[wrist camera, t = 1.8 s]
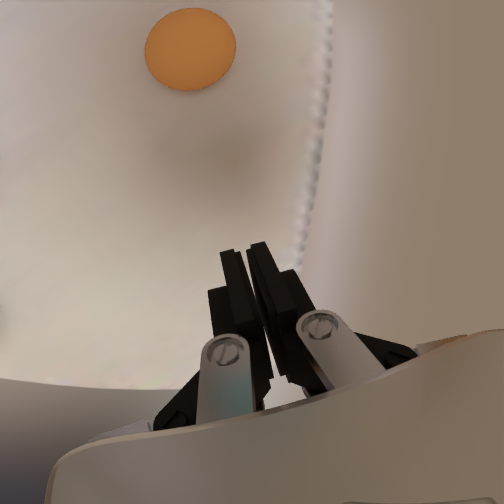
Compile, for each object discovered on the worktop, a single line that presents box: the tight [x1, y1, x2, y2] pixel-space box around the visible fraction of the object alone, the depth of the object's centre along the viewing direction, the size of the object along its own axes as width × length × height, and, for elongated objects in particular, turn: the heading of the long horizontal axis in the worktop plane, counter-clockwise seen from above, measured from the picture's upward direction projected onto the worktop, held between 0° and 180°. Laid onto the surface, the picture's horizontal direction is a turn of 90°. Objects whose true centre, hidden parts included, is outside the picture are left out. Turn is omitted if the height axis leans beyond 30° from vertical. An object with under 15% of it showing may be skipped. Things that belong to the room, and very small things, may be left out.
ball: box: [145, 8, 236, 91], centre depth 17 cm, size 6×6×6 cm
